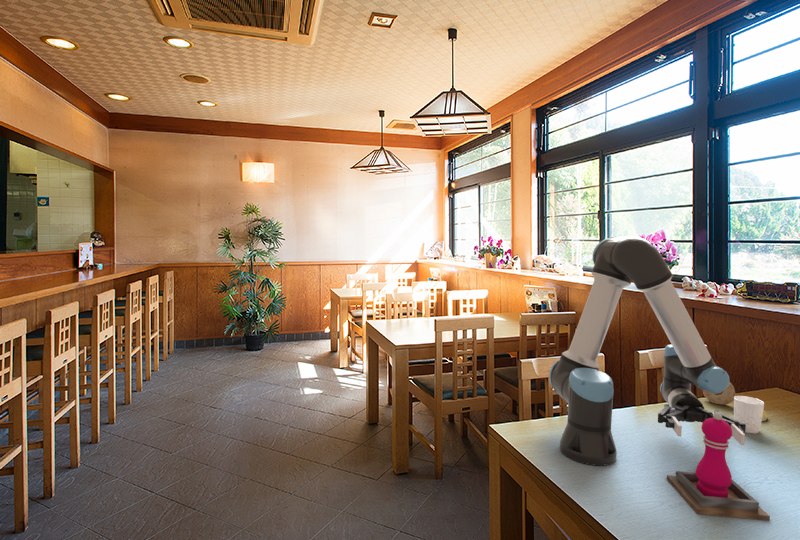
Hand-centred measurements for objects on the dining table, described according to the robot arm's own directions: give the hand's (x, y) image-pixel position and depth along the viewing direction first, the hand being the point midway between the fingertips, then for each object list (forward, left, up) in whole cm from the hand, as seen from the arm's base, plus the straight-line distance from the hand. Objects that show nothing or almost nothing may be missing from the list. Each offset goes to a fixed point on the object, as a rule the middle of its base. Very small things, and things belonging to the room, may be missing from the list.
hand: (710, 435), depth 112 cm
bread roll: (+42, +52, -14) cm, 68 cm away
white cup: (+33, +39, -13) cm, 53 cm away
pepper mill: (-2, -5, -12) cm, 14 cm away
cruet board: (-1, -6, -13) cm, 14 cm away
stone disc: (+37, +63, -13) cm, 74 cm away
